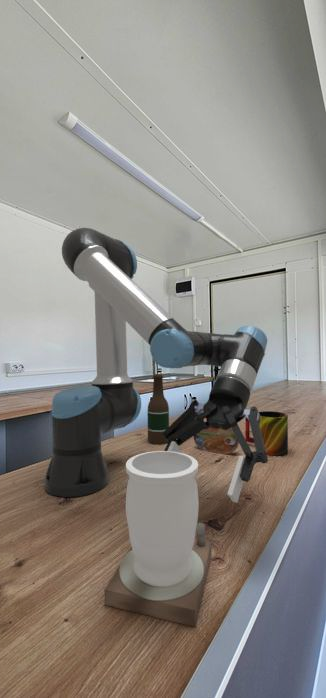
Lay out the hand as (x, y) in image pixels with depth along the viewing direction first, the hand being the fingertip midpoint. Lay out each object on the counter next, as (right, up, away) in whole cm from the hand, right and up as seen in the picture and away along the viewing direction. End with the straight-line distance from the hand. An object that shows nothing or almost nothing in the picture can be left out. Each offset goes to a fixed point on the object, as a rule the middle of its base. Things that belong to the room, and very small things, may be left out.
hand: (194, 487), depth 53 cm
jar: (-5, -8, -7) cm, 12 cm away
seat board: (-5, -10, -6) cm, 13 cm away
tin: (+12, -10, +50) cm, 52 cm away
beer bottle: (-7, -10, +61) cm, 62 cm away
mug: (+28, -10, +50) cm, 58 cm away
